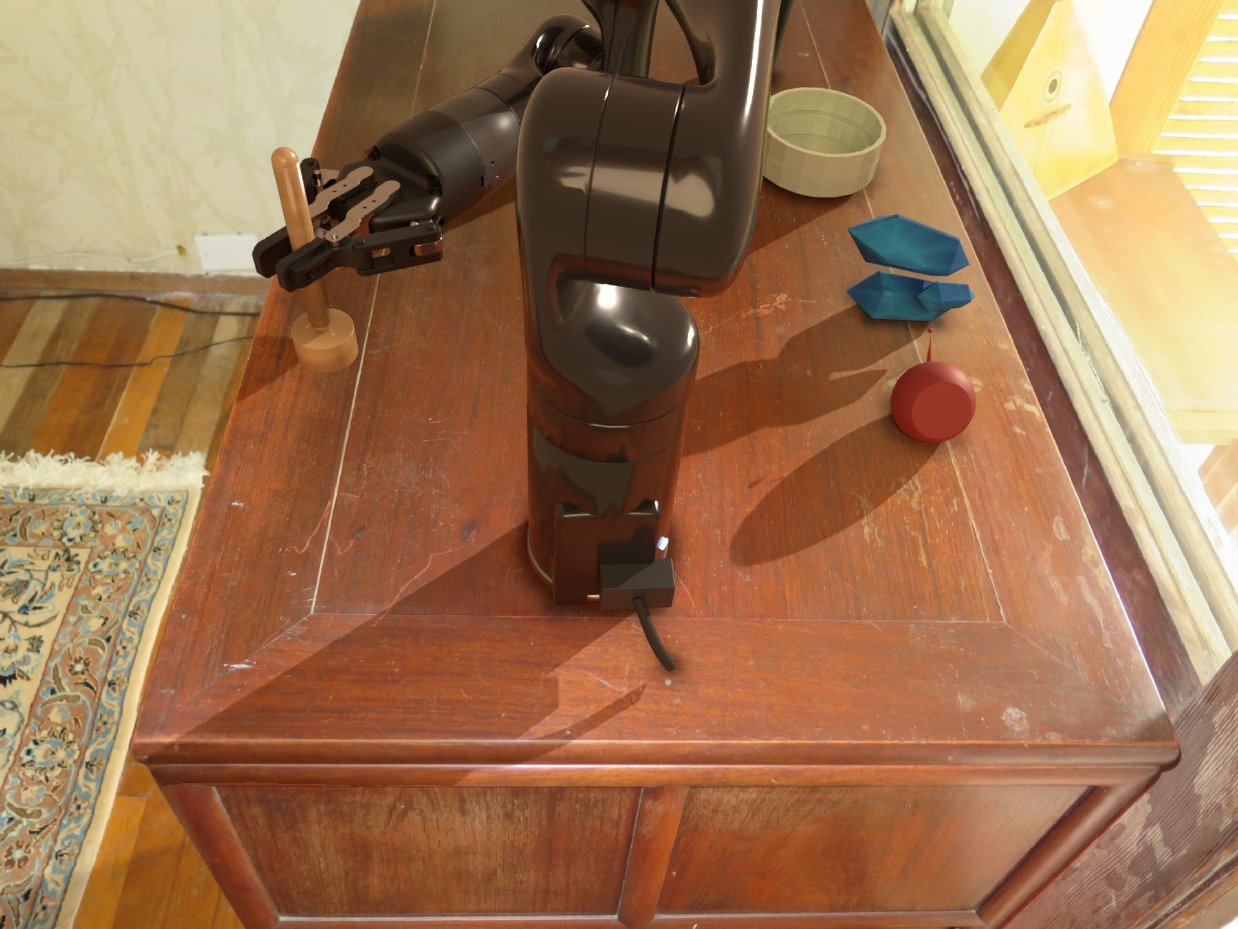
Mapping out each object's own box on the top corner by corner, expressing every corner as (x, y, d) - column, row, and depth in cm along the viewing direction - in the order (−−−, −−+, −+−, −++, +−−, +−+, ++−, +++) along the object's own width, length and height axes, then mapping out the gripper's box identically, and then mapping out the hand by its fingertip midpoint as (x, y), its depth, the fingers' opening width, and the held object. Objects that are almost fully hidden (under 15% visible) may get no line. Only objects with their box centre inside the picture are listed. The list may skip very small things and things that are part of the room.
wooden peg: (355, 373, 72) (315, 170, 59) (293, 373, 71) (238, 169, 58) (361, 331, 74) (323, 129, 61) (301, 332, 74) (250, 128, 61)
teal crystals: (1008, 280, 77) (869, 239, 75) (949, 356, 84) (819, 321, 81) (990, 222, 82) (858, 182, 80) (935, 298, 88) (812, 263, 86)
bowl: (885, 203, 94) (900, 157, 91) (762, 202, 93) (772, 155, 89) (857, 133, 102) (869, 88, 98) (742, 131, 101) (750, 85, 97)
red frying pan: (950, 428, 79) (970, 330, 76) (974, 452, 73) (997, 347, 71) (874, 423, 79) (891, 324, 76) (893, 446, 73) (912, 341, 70)
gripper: (377, 78, 73) (183, 182, 63) (521, 147, 68) (336, 270, 59) (389, 167, 79) (213, 274, 69) (523, 236, 74) (354, 361, 64)
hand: (270, 272), depth 64 cm, fingers closed on wooden peg
